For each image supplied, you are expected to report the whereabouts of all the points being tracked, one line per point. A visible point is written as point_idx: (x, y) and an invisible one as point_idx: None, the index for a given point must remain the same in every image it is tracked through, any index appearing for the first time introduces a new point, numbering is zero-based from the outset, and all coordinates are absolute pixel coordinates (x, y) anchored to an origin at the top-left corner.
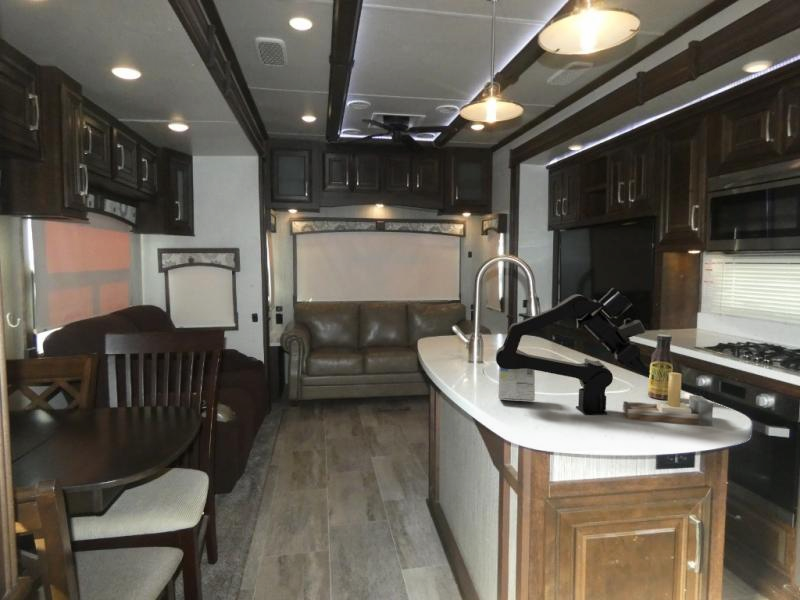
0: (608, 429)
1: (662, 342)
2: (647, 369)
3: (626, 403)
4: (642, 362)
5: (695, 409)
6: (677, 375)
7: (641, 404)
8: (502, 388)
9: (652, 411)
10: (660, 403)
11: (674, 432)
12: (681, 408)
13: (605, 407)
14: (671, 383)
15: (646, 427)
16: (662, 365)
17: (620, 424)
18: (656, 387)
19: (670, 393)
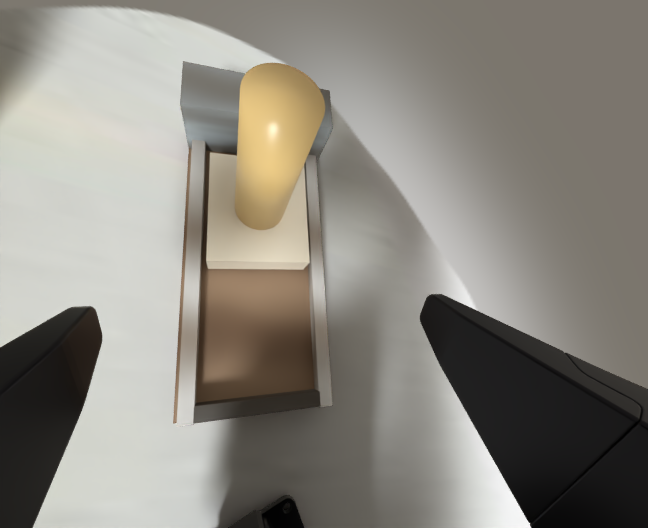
0: (464, 475)
1: None
2: (481, 315)
3: (237, 411)
4: (593, 372)
5: None
6: (324, 104)
7: (197, 332)
8: None
9: (324, 305)
10: (245, 254)
11: (407, 266)
12: (299, 192)
13: (262, 517)
14: (298, 168)
15: (394, 341)
16: None
17: (397, 431)
18: None
19: (286, 200)
